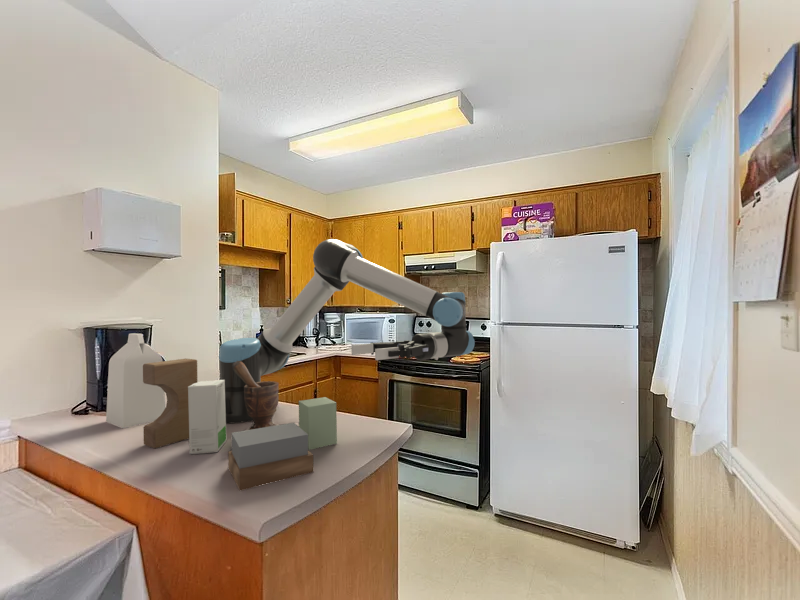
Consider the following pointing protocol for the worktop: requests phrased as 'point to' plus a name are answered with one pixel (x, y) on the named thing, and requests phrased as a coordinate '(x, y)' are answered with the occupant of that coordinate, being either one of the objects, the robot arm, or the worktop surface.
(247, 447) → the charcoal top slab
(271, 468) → the walnut base slab
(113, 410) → the milk
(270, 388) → the mortar and pestle
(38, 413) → the worktop surface
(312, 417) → the sage block
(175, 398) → the decorative block
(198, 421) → the skincare box
